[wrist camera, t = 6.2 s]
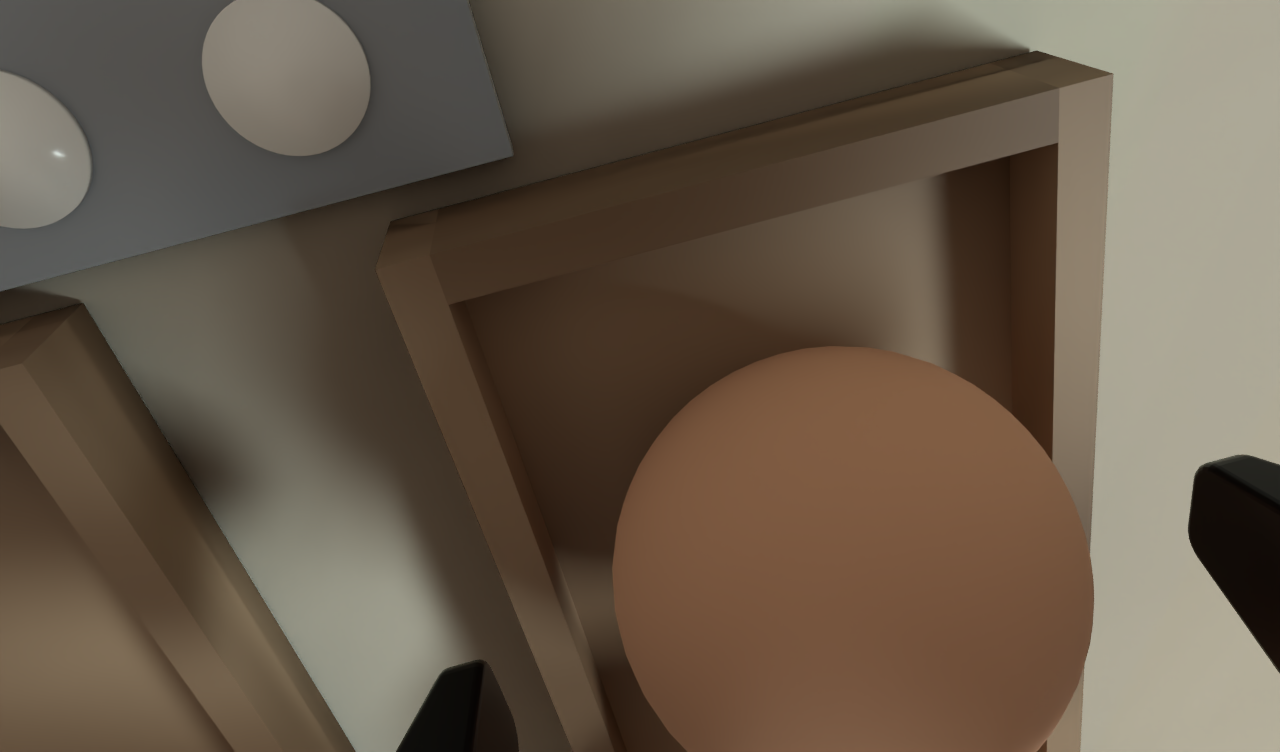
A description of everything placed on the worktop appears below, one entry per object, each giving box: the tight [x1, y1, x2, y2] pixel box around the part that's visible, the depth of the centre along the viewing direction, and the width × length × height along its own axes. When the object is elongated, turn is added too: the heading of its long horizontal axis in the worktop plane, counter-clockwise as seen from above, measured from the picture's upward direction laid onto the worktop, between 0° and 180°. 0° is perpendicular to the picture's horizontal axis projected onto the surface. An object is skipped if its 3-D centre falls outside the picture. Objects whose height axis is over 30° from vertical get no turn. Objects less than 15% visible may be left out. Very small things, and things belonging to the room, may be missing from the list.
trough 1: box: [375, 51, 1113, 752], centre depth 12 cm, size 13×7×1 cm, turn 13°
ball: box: [612, 346, 1094, 752], centre depth 9 cm, size 4×4×4 cm
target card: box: [0, 0, 513, 291], centre depth 8 cm, size 2×6×1 cm, turn 103°
